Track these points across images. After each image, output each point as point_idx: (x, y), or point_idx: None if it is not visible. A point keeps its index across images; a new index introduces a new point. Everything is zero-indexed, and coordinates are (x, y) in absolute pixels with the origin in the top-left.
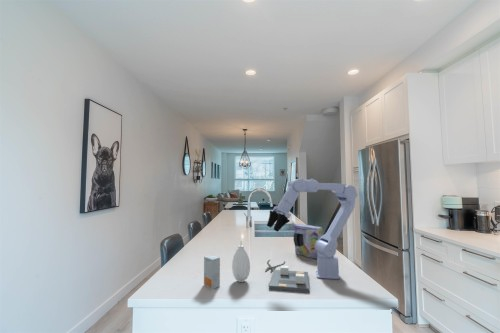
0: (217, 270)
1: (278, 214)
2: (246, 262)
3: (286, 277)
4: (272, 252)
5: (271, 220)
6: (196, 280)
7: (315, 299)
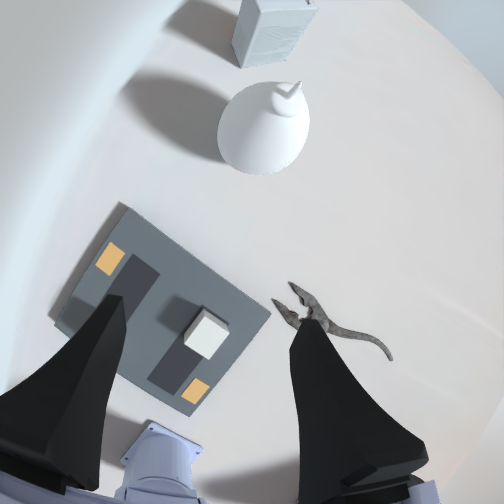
0: (246, 30)
1: (35, 430)
2: (224, 132)
3: (169, 315)
4: (440, 394)
5: (314, 391)
6: (321, 36)
7: (18, 305)
